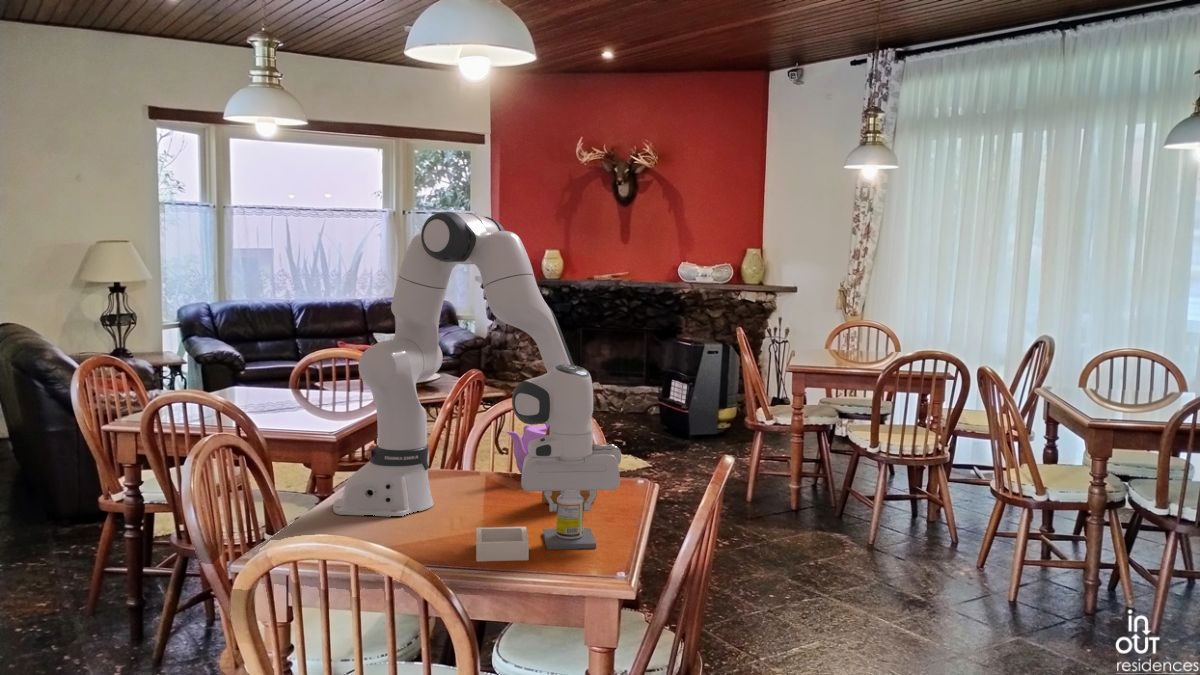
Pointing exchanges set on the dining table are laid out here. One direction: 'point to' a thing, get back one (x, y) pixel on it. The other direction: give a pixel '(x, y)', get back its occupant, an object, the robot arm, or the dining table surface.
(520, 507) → the dining table surface
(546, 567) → the dining table surface
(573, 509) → the supplement bottle
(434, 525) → the dining table surface
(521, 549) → the pocket
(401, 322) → the robot arm
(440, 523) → the dining table surface
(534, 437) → the teapot
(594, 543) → the coaster
